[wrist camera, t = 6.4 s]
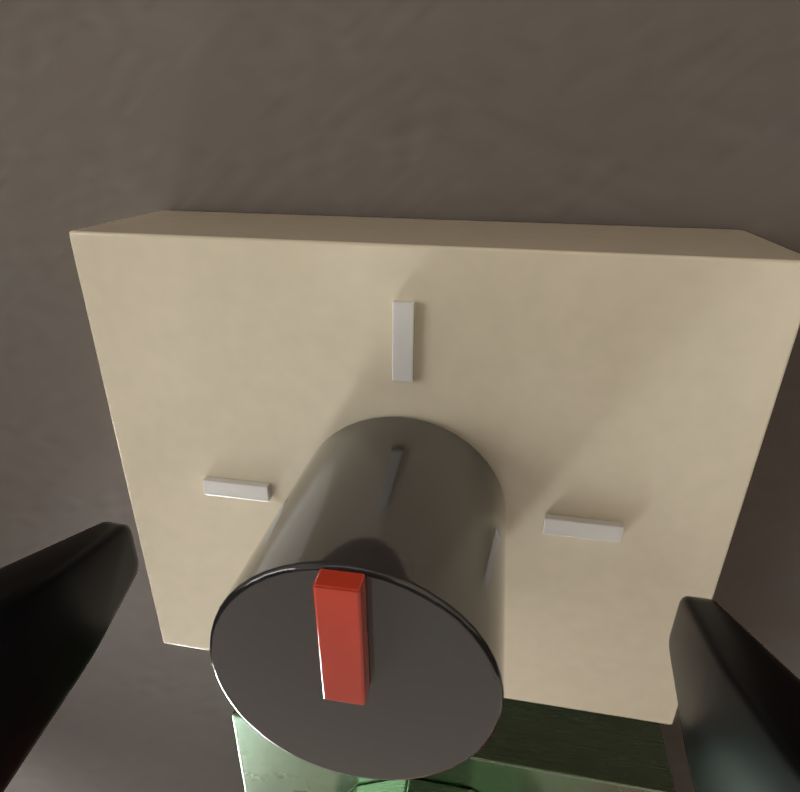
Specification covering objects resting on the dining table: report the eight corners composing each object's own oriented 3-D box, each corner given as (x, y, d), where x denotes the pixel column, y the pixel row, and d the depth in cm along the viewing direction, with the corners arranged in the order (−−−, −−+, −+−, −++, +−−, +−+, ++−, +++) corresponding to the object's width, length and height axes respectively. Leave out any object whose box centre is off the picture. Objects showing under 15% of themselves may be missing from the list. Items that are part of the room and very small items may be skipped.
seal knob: (499, 597, 12) (493, 828, 8) (310, 574, 12) (219, 777, 8) (514, 422, 10) (517, 608, 6) (295, 407, 11) (171, 564, 7)
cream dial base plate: (218, 562, 17) (159, 648, 14) (161, 209, 13) (60, 232, 10) (643, 619, 15) (674, 733, 12) (744, 229, 11) (828, 264, 8)
